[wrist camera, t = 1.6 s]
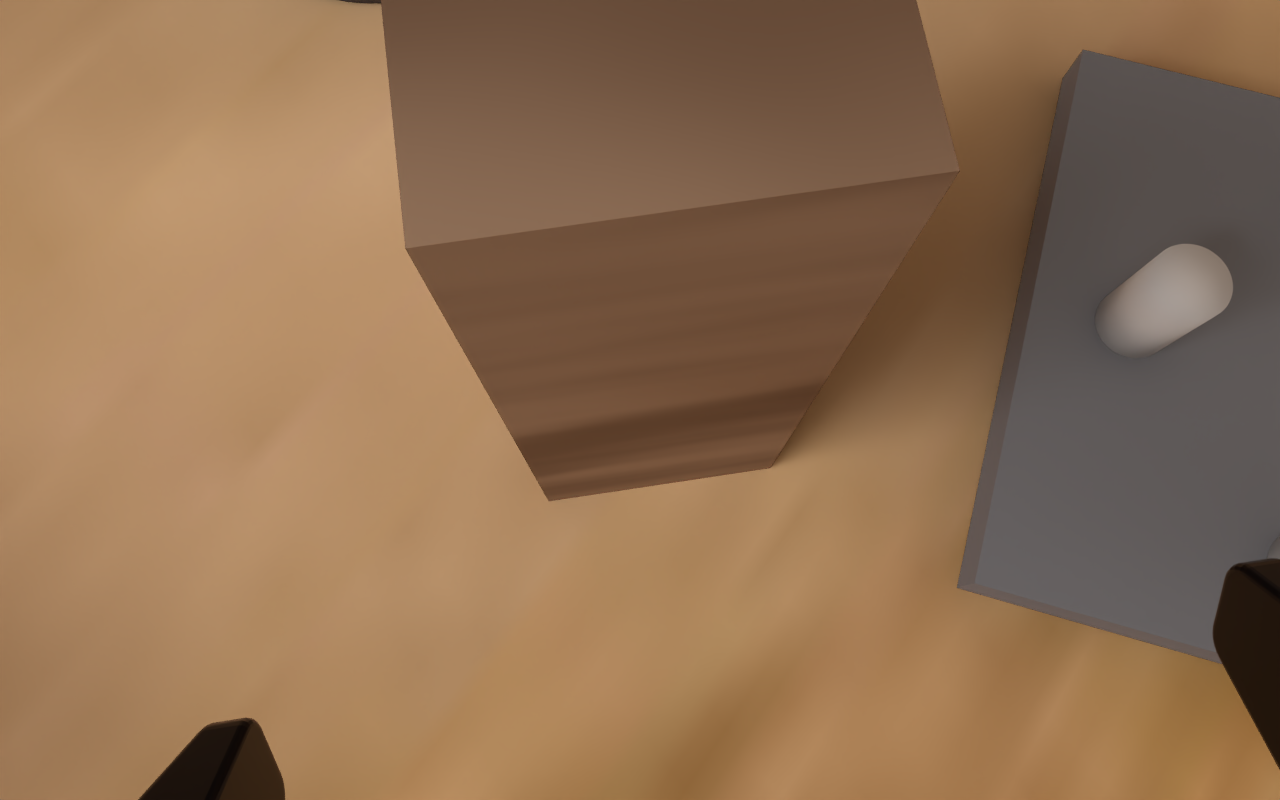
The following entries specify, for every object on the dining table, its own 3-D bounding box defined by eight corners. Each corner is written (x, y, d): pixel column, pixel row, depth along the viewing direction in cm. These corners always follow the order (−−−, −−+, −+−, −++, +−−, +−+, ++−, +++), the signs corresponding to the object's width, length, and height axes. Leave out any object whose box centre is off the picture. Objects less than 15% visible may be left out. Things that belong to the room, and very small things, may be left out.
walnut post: (770, 467, 23) (958, 171, 9) (548, 501, 22) (406, 248, 9) (731, 262, 24) (846, -268, 10) (522, 292, 24) (360, -207, 10)
